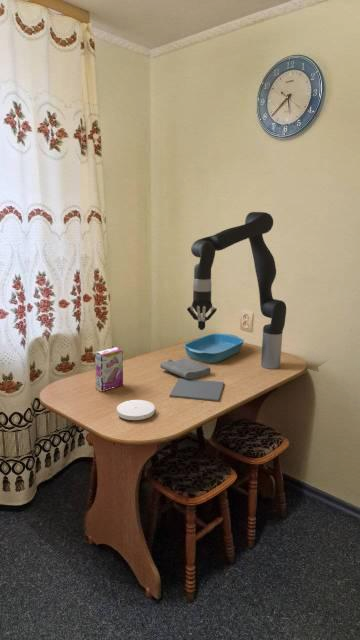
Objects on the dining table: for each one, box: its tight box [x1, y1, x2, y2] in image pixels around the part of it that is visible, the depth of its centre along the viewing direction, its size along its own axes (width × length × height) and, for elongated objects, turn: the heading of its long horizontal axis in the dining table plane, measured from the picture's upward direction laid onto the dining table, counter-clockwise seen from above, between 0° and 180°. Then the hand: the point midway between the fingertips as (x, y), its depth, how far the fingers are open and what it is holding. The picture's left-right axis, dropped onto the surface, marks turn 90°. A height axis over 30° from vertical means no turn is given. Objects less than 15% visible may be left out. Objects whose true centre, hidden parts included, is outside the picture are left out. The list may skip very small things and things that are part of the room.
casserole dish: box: [183, 333, 245, 364], centre depth 229 cm, size 37×22×7 cm, turn 142°
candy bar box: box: [94, 346, 124, 392], centre depth 183 cm, size 11×5×16 cm, turn 134°
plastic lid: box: [116, 399, 156, 421], centre depth 161 cm, size 14×14×2 cm
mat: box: [169, 377, 225, 403], centre depth 183 cm, size 19×20×1 cm
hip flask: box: [159, 357, 212, 380], centre depth 203 cm, size 16×4×20 cm
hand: (201, 329), depth 184 cm, fingers closed
